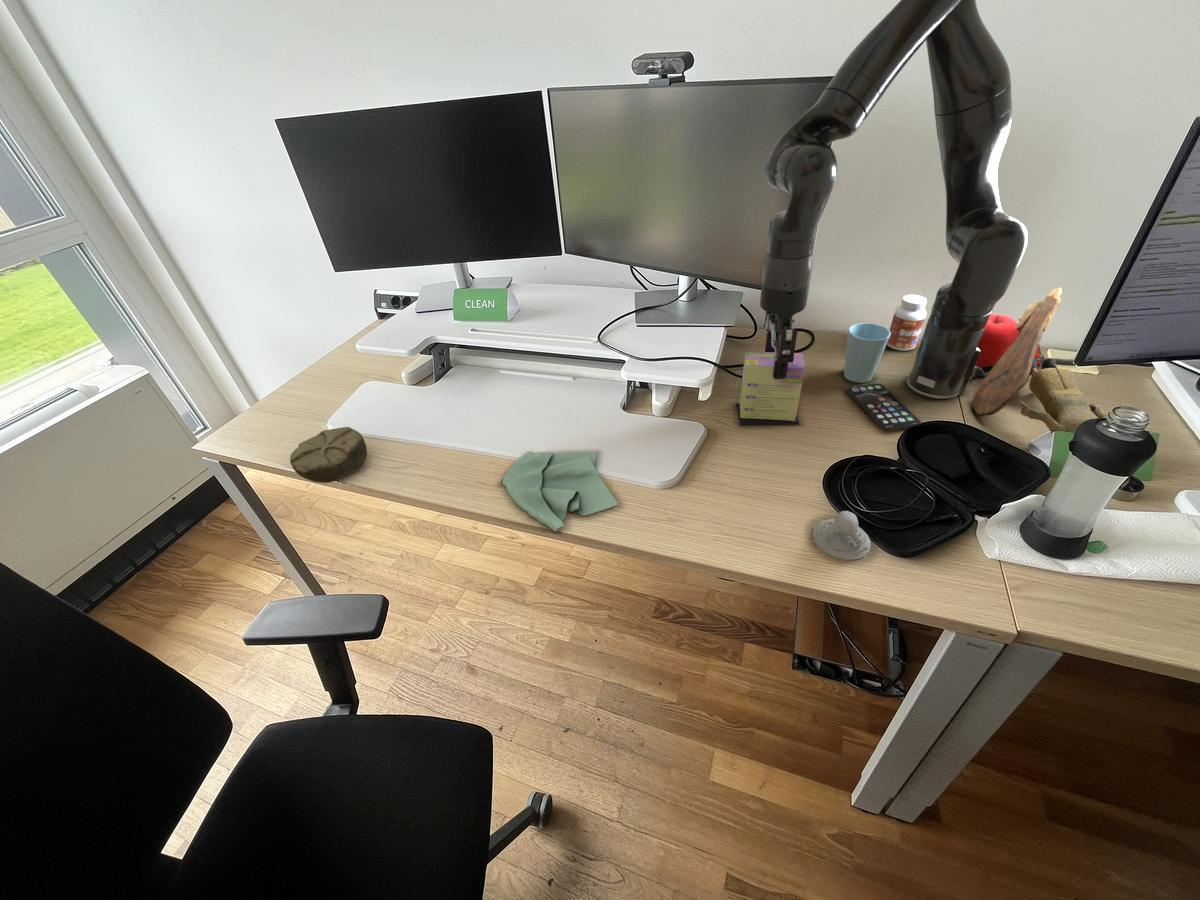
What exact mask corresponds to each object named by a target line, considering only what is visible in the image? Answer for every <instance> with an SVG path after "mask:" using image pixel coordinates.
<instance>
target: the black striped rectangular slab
mask: <svg viewBox="0 0 1200 900" xmlns="http://www.w3.org/2000/svg"><path fill="white" fill-rule="evenodd" d="M735 407H736V413H737V417H738V421H739V425H740V426H789V425H790V426H792V425H793V426H795V425H797V426H798V425H800V420H799V417H798V413H797V414H796V419H795V421H789V420H772V419H751V418H740V402H739V403H735Z"/></svg>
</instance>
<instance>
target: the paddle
mask: <svg viewBox="0 0 1200 900" xmlns="http://www.w3.org/2000/svg"><path fill="white" fill-rule="evenodd" d="M1062 293H1063V290H1062V288H1061V287H1057V288H1054V289H1052V290H1051V291H1050V292H1048V294H1047V295H1046V296H1045V297H1044V299H1043V300H1042V301H1037V302H1032V303H1030V304H1029V305H1028V306H1027V308H1026V309H1025V311H1024V312H1023V315H1022V316H1021V320H1020V322H1019V321H1018V323H1017V324H1018V325H1017V327H1016V330H1017V331H1021V332H1020V334H1019V335H1018V337H1017V338H1016V339H1015V341H1014V342H1013V344H1012V345H1011V346H1010V347H1009V348H1008V350H1007V351H1006V352H1005V353H1004V354H1003V356H1002V357H1001V358H1000V359H999V360H998V362H997V363H996V364H995V365H993V367H992V368H991V369H990V370H989V371H990V372H989V371H988V372H989V373H988V374H987V376H986V377H983V380H982V381H981V382H980V384H979V385H978V387H977V389H976V391H975V393H974V396H973V400H972V403H973V405H972V407H973V409H974V412H975V414H977V415H978V416H980V417H986V416H992V415H995V414H997V413H998V412H1000V411H1001V410H1002V409H1004V408H1005V407H1006V406H1007V405H1008V404H1009V403H1010V402H1011V401H1013V399H1014V398H1015V397H1017V395H1018V394H1019V393H1020V391H1021V390H1022V389H1023V388H1024V387H1023V385H1024V384H1025V382H1026V380H1027V378H1028V376H1029V373H1030V370H1031V366H1032V362H1033V359H1034V356H1035V352H1036V350H1037V347H1038V344H1039V345H1040V342H1041V340H1042V337H1043V335H1044V333H1045V332H1046V330H1047V328H1048V326H1049V325H1050V323H1051V320H1052V318H1053V316H1054V315H1055V313H1056V312H1057V310H1058V307H1059V306H1060V304H1061V301H1062V300H1061V296H1062ZM1029 377H1030V376H1029ZM1025 385H1026V384H1025ZM1025 385H1024V386H1025ZM1022 387H1023V388H1022ZM1021 388H1022V389H1021Z"/></svg>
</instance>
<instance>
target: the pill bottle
mask: <svg viewBox="0 0 1200 900" xmlns="http://www.w3.org/2000/svg"><path fill="white" fill-rule="evenodd" d="M927 299H928V298H926V297H924V296H922V295H918V294H907V295H904V296H902V299H901V301H900V303H901V304H900V305H899V306H898V307H897V308H896V309H894V313H893V316H892V320H891V323H890V326H889V329H888V330H889V331H890V332H891V335H890V337H889V340H888V342H887V344H886V346H888V347H889V348H891V349H893V350H896V351H902V352H907V351H911V350H913V349H915V348H916V346H917V344H918V341H919V338H920V336H921V332H922V329H923V326H924V323H925V321H926V317H927V310H926V308H925V307H926V305H927V301H928V300H927Z"/></svg>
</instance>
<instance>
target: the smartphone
mask: <svg viewBox="0 0 1200 900" xmlns="http://www.w3.org/2000/svg"><path fill="white" fill-rule="evenodd" d="M846 391H847V393H848V394H849V395H850V397H852V398H853V400H854V401H856V403H857V404H858V405H859V406H860V408H862V410H864V411H865V413H866V414H867V415H868V416H869V417H870V418H871V419H872V420H873V422H875V424H876V425H877V426H878V427H879V428H880V429H881V430H882V431H885V432H892V431H899V430H907V429H911V428H910V427H912V426H914V425H918V424H921V425H922V421H921V420H920V419H918V418H917V417H916V416H915V414H913V413H912V412H911V410H909V409H908V408H907V407H906V406H905V405H904V404H903V403H902V402H901V401H900V400H899V399H898V397H896V396H895V395H894V394H893V393H892V392H891V391H890V390H888V388H887V387H886V386H885V385H883V384H882V383H877V382H876V383H869V384H861V385H860V384H859V385H854V386H848V387H847V390H846Z"/></svg>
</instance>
